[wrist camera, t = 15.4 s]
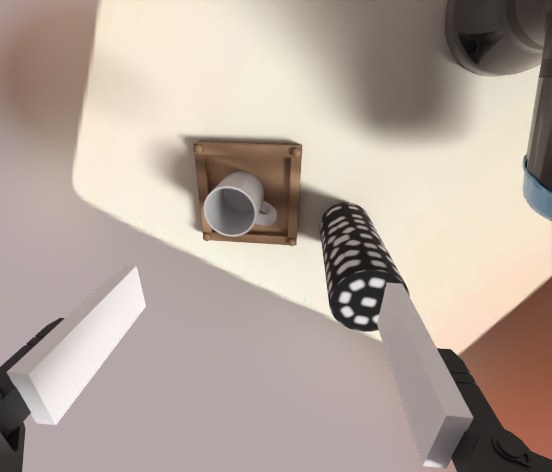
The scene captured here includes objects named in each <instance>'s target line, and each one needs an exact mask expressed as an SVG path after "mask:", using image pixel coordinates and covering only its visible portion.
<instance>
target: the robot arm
mask: <svg viewBox="0 0 552 472" xmlns="http://www.w3.org/2000/svg"><path fill="white" fill-rule="evenodd" d="M446 36H447V41H448V44H449V47H450V50H451V52H452V54H453V55H454V57H455V58H456V60H457V61H458V62H459V63H460V64H461V65H462V66H463V67H464V68H466V69H467V70H469V71H471V72H473V73H476V74H479V75H483V76H503V75H511V74H516V73H520V72H523V71H526V70H529V69H531V68H533V67H536V66H538V65H540V64H541V68H540V74H539V77H538V84H537V90H536V97H535V103H534V110H533V116H532V123H531V129H530V136H529V142H528V149H527V154H526V155H525V156H524V159H523V169H524V182H523V195H524V197H525V199H526V200H527V203H528V204H529V206H530V207H531V208H532V209H533V210H534V211H535V212H537V213H538V214H540V215H541V216H543V217H544V218H546V219H548V220H550V221H552V0H449V1H448V5H447V11H446ZM145 306H146V305H145V301H144V296H143V292H142V288H141V283H140V279H139V275H138V271H137V266H132V265H122V266H121V267H120V268H119V269H118V270H117V271H115V272H114V273H113V274H112V275H111V276H110V277H109V278H108V279H107V280H106V281H105V282H104V283H103V284H101V285H100V286H99V287H98V288H97V289H96V290H95V291H94V292H93V293H92V294H91V295H90V296H89V297H87V298H86V299H85V300H84V301H83V302H82V303H81V304H80V305H79V306H78V307H77V308H75V309H74V310H73V311H72V312H71V313H70V314H69V315H68V316H67V317H66V318H59V319H57V320H56V321H54V322H52V323H51V324H49V325H47V326H46V327H45V328H44V329H42V330H41V331H40V332H39V333H38V334H37V335H36V337H35V338H34V337H33V338H32V339H31V340H30V341H29V342H28V343H27V345H26V346H23V347H22V348H21V349H20V350H19V351H18V352H17V353H15V354H14V355H13V356H12V357H11V358H10V359H9V360H8V361H6V362H5V363H4V364H3V365H2V366H1V367H0V472H22V464H23V452H24V439H25V426H24V423H23V421H24V420H25V419H26V418H27V417H28V415H29V414H30V413H31V415H32V416H33V418H34V420H35V422H36V423H41V424H51V425H56V424H57V423H58V421H59V420H60V419H61V418H62V416H63V415H64V414H65V412H66V411H67V410H68V408H69V407H70V406H71V404H72V403H73V402H74V400H75V399H76V398H77V396H78V395H79V394H80V392H81V391H82V390H83V388H84V387H85V386H86V385H87V383H88V382H89V381H90V379H91V378H92V377H93V375H94V374H95V373H96V371H97V370H98V369H99V367H100V366H101V365H102V363H103V362H104V361H105V359H106V358H107V357H108V355H109V354H110V353H111V351H112V350H113V349H114V348H115V346H116V345H117V344H118V342H119V341H120V340H121V338H122V337H123V336H124V334H125V333H126V332H127V330H128V329H129V328H130V326H131V325H132V324H133V322H134V321H135V320H136V318H137V317H138V316H139V314H140V313H141V312H142V311H143V309H144V308H145ZM377 326H378V329H379V332H380V335H381V338H382V341H383V344H384V347H385V350H386V354H387V356H388V360H389V363H390V366H391V369H392V372H393V375H394V378H395V381H396V385H397V388H398V391H399V393H400V397H401V400H402V403H403V406H404V409H405V412H406V415H407V418H408V422H409V425H410V428H411V430H412V434H413V437H414V440H415V443H416V446H417V449H418V453H419V456H420V459H421V462H422V465H423V466H430V467H439V468H447V466H448V464H449V462H450V461H451V459H452V460H453V463H454V465H455V468H456V470H457V472H552V460H551V459H548V458H546V457H543V456H541V455H538V454H536V453H534V452H532V451H530V449H529V448H528V447H527V446H526V445H525V444H524V443H523V441H522V440H520V439H519V438H518V437H517V436H515V435H514V434H513V433H511V432H509V431H507V430H505V429H504V428H503V426H502V425H501V423H500V422H499V420H498V418H497V417H496V415H495V413H494V412H493V410H492V408H491V407H490V405H489V404H488V402H487V400H486V398H485V397H484V395H483V393H482V392H481V390H480V388H479V387H478V386H477V385H476V382H475V381H474V379H473V377H472V375H470V372H469V370H468V369H467V367H466V365H465V364H464V362H463V361H462V360H461V359H460V358H459V357H458V356H457V355H456V354H455V353H454V352H453V351H452V350H451V349H439V348H436V346H435V344H434V342H433V341H432V339H431V337H430V335H429V333H428V331H427V329H426V327H425V325H424V324H423V322H422V320H421V318H420V316H419V314H418V312H417V310H416V308H415V307H414V305H413V303H412V301H411V299H410V297H409V295H408V293H407V291H406V290H405V288H404V286H403V284H399V283H387V284H386V288H385V292H384V297H383V301H382V305H381V309H380V314H379V318H378V322H377Z"/></svg>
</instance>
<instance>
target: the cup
mask: <svg viewBox="0 0 552 472" xmlns="http://www.w3.org/2000/svg"><path fill="white" fill-rule="evenodd" d="M263 200H264V189H263V185H262V184H261V182H260V180H259V179H258V178H257V177H256V176H254V175H253V174H251V173H249V172H245V171H237V172H233V173H231V174H229V175H228V176H226V177H225V178H224V179H223V180H222V181H221V182H220V183H219V184H218V185H217V186H216V187H215V188H214V189H213V191H212V192H211V193H210V194H209V195H208V196H207V198H206V200H205V202H204V208H203V209H204V216H205V218H206V221H207V222H208V224H209V225H210V226H211V227H212V228H213V229H214V230H215V231H216V232H218V233H220V234H222V235H225V236H232V237H236V236H240V235H243V234H245V233H247V232H248V231H249V230H250V229H251V228H252V227H253V225H254V224H255V223H256V224H258V225H262V226H269V225H272V224H273V223H274V222H275V221H276V219H277V212H276V210H275V208H274V207H273V206H272V205H270V204H269V203H267V202H265V201H263ZM260 210H261V211H263V212H265V213H266V215H263V214H260V213H259V211H260Z"/></svg>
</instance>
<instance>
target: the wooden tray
mask: <svg viewBox="0 0 552 472" xmlns="http://www.w3.org/2000/svg"><path fill="white" fill-rule="evenodd" d="M194 151H195V161H196V171H197V180H198V190H199V200H200V209H201V219H202V229H203V239H204V240H205V241H209V240H215V241H232V242H248V243H265V244H282V245H290V246H294V245H296V240H297V224H298V207H299V190H300V174H301V157H302V145H290V144H262V143H233V142H205V141H199V142H196V143H194ZM237 171H245V172H249V173H251V174H253V175H254V176H256V177H257V178H258V179H259V180H260V182H261V184H262V185H263V189H264V200H263V201H265V202H267V203H269V204H270V205H272V206H273V207H274V208H275V210H276V212H277V219H276V221H275V222H274V223H273V224H272V225H269V226H262V225H258V224H256V223H255V224H254V225H253V227H252V228H251V229H250V230H249V231H248V232H247V233H245V234H243V235H240V236H236V237H232V236H225V235H222V234H220V233H218V232H216V231H215V230H214V229H213V228H212V227H211V226H210V225H209V224H208V222H207V221H206V218H205V216H204V209H203V208H204V202H205V200H206V198H207V196H208V195H209V194H210V193H211V192H212V191H213V189H214V188H215V187H216V186H217V185H218V184H219V183H220V182H221V181H222V180H223V179H224V178H225V177H226V176H228V175H229V174H231V173H233V172H237ZM259 213H260V214H263V215H266V213H265V212H263V211H261V210H260V211H259Z"/></svg>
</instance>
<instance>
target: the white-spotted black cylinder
mask: <svg viewBox="0 0 552 472" xmlns="http://www.w3.org/2000/svg"><path fill="white" fill-rule="evenodd" d="M320 233H321V241H322V249H323V257H324V265H325V273H326V281H327V290H328V298H329V306H330V310H331V313H332V314H333V316H334V318H335V319H336V320H337V321H338V322H339V323H341V324H342V325H344V326H346V327H348V328H350V329H353V330H357V331H364V332H365V331H377V330H379V329H378V326H377V322H378V318H379V314H380V309H381V305H382V301H383V297H384V292H385V288H386V284H387V283H399V284H403V286H404V288H405V290H406V291H407V293H408V295H409V291H408V288H407V286H406V284H405V282H404V281H403V279H402V277H401V275H400V273H399V271H398V270H397V268H396V266H395V264H394V262H393V260H392V259H391V257H390V255H389V253H388V251H387V249H386V248H385V246H384V244H383V242H382V240H381V238H380V237H379V235H378V233H377V231H376V229H375V227H374V226H373V224H372V222H371V220H370V218H369V216H368V215H367V213H366V212H365V210H364V209H362V208H361V207H360V206H358V205H355V204H352V203H341V204H337V205H335V206H333V207H331V208H330V209H328V210H327V211H326V212H325V214H324V215H323V217H322V219H321V222H320ZM409 297H410V295H409Z"/></svg>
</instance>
